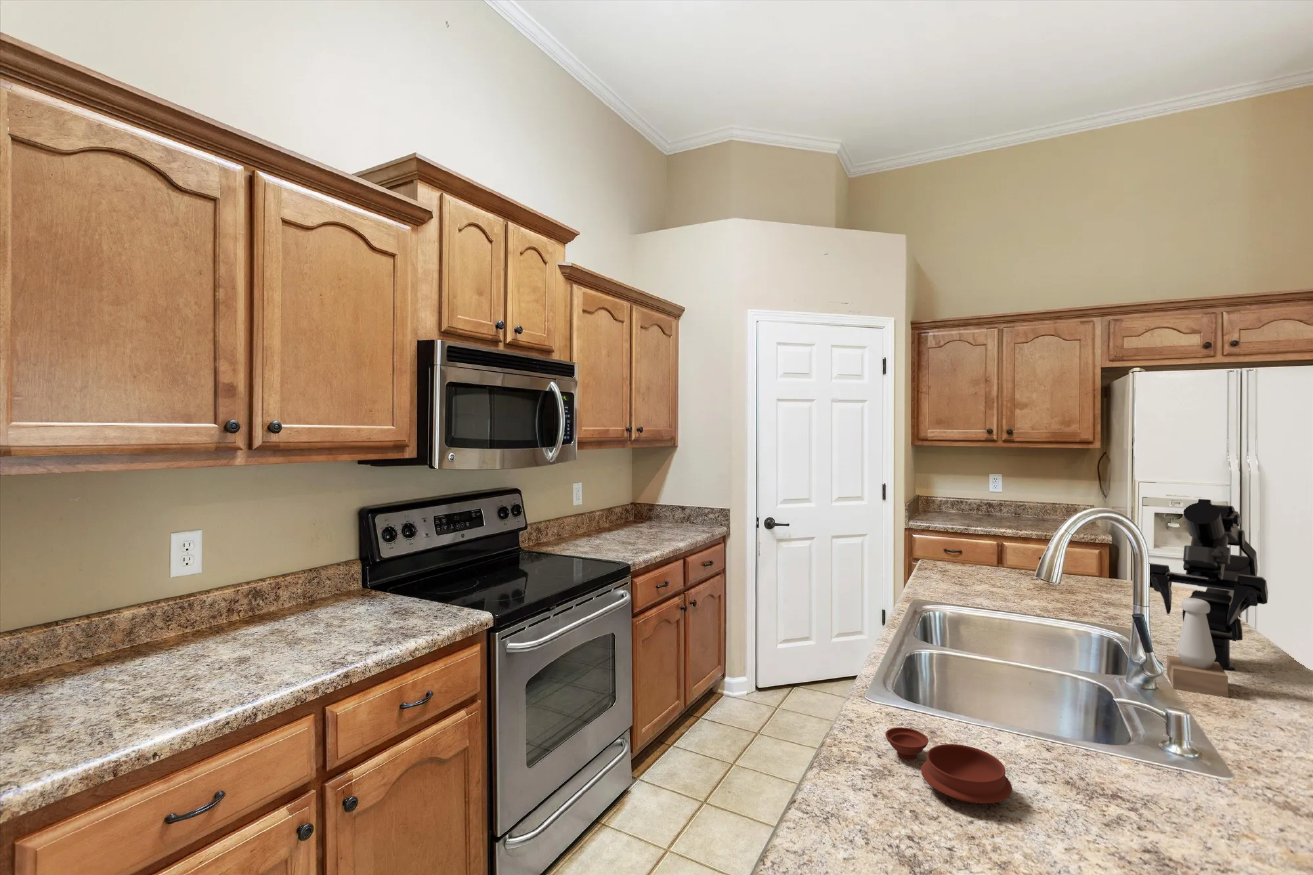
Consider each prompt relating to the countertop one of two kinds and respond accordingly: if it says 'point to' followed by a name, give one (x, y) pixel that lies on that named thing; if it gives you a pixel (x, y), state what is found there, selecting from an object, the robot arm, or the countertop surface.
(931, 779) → the pottery
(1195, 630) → the salt shaker
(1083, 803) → the countertop surface
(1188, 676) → the walnut plinth
